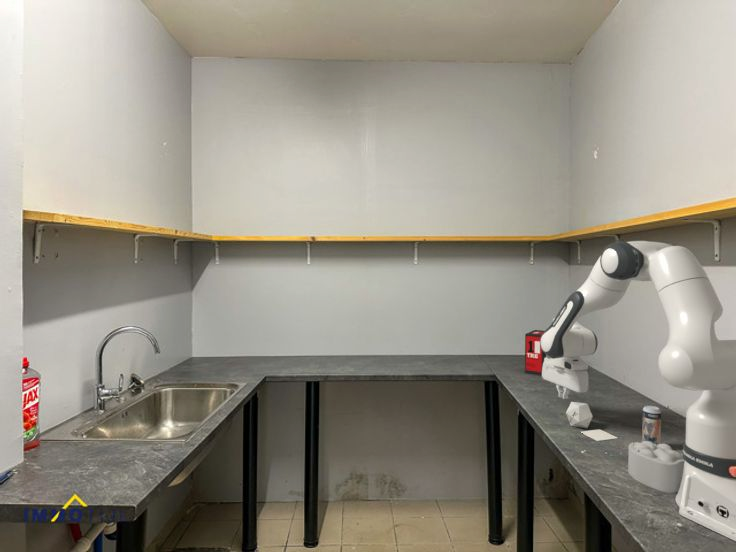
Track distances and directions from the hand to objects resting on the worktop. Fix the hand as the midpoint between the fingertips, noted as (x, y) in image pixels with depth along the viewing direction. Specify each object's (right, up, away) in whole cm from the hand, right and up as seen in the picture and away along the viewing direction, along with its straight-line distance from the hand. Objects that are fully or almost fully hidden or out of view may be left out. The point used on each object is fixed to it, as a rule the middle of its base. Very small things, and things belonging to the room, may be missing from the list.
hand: (563, 398), depth 159 cm
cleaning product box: (+17, -5, +68) cm, 70 cm away
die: (+2, -8, -7) cm, 11 cm away
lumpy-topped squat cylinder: (+4, -9, -44) cm, 45 cm away
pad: (+5, -8, -16) cm, 18 cm away
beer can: (+16, -8, -24) cm, 30 cm away
